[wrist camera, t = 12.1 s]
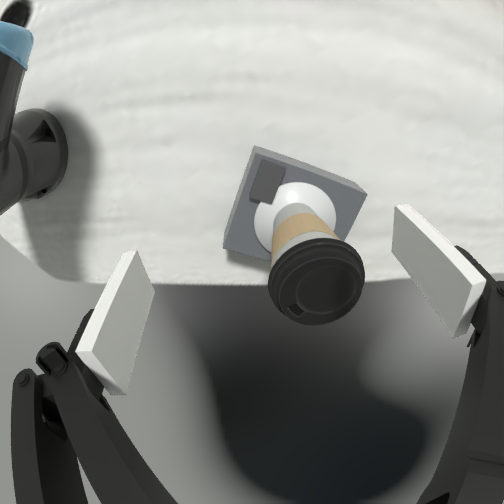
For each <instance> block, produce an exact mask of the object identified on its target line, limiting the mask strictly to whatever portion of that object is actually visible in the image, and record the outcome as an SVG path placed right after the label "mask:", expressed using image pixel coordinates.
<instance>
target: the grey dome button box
mask: <svg viewBox="0 0 504 504" xmlns="http://www.w3.org/2000/svg"><path fill="white" fill-rule="evenodd" d="M366 196H367V193H366V192H365V191H364V190H363V189H361V188H360V187H359V186H358V185H357V184H356V183H355V182H352V181H350V180H348V179H345V178H343V177H340V176H338V175H335V174H333V173H330V172H328V171H325V170H322V169H320V168H317V167H315V166H312V165H309V164H307V163H304V162H301V161H298V160H296V159H293V158H290V157H287V156H284V155H281V154H278V153H276V152H273V151H270V150H267V149H264V148H260V147H257V146H254V147H253V150H252V153H251V156H250V159H249V161H248V164H247V167H246V170H245V173H244V176H243V179H242V182H241V184H240V187H239V190H238V193H237V196H236V199H235V202H234V205H233V208H232V211H231V214H230V217H229V220H228V223H227V226H226V229H225V232H224V242H223V249H227V250H230V251H234V252H238V253H241V254H245V255H249V256H252V257H256V258H260V259H264V260H267V261H271V250H272V237H273V223H274V219H275V216H276V215H277V213H278V212H279V211H280V210H281V209H282V208H283V207H285V206H286V205H289V204H291V203H303V204H306V205H307V206H309V207H310V208H311V209H312V210H313V211H314V212H315V213H316V214H317V215H318V216H319V218H321V219H322V220H323V221H324V222H325V223H326V224H327V225H328V226H329V227H330V229H331V230H332V231H333V232H334V233H335V235H336V236H337V237H338V238H339V239H340V241H343V242H344V240H345V239H346V237H347V235H348V233H349V231H350V229H351V227H352V225H353V223H354V221H355V219H356V217H357V215H358V213H359V211H360V209H361V207H362V205H363V203H364V201H365V198H366Z"/></svg>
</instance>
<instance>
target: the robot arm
mask: <svg viewBox="0 0 504 504" xmlns="http://www.w3.org/2000/svg"><path fill="white" fill-rule="evenodd" d="M33 42H34V38H33V35H32V33H31V32H30V31H29V30H27V29H25V28H23V27H20V26H17V25H14V24H10V23H6V22H2V21H0V215H2V214H3V213H4V212H5V211H7V210H8V209H9V208H10V207H12V206H13V205H14V204H16V203H17V202H22V201H28V200H34V199H39V198H41V197H43V196H45V195H46V194H48V193H49V192H51V191H52V190H53V189H54V188H56V186H57V185H58V184H59V183H60V181H61V179H62V178H63V175H64V173H65V170H66V165H67V158H68V150H67V142H66V138H65V134H64V132H63V129H62V127H61V125H60V124H59V122H58V121H57V120H56V118H55V117H54V116H53V115H51V114H50V113H49V112H47V111H45V110H42V109H29V110H25V111H21V112H19V113H17V114H15V110H16V105H17V101H18V97H19V93H20V89H21V85H22V81H23V78H24V74H25V71H27V69H28V65H27V63H28V60H29V56H30V53H31V50H32V46H33ZM14 114H15V115H14ZM392 253H393V254H394V255H395V257H396V258H397V259H398V261H399V262H400V263H401V264H402V266H403V267H404V268H405V270H406V271H407V272H408V274H409V275H410V277H411V278H412V279H413V280H414V282H415V283H416V285H417V286H418V288H419V289H420V290H421V292H422V293H423V295H424V296H425V297H426V299H427V300H428V302H429V303H430V305H431V306H432V308H433V309H434V310H435V312H436V313H437V315H438V316H439V318H440V319H441V321H442V322H443V324H444V326H445V327H446V329H447V330H448V332H449V333H450V335H451V336H452V338H455V337H458V336H460V335H463V334H465V333H466V332H467V330H468V328H469V326H470V323H472V325H473V326H474V327H475V330H474V332H473V334H472V336H471V338H470V341H469V343H468V345H467V347H469V346H470V344H471V348H470V354H469V359H468V365H467V370H466V375H465V379H464V384H463V388H462V392H461V396H460V400H459V404H458V407H457V411H456V415H455V418H454V421H453V425H452V428H451V431H450V434H449V437H448V440H447V443H446V445H445V448H444V451H443V454H442V456H441V459H440V461H439V464H438V466H437V469H436V471H435V474H434V476H433V478H432V480H431V482H430V483H429V485H428V486H427V488H426V489H425V490H424V492H423V493H422V495H421V496H420V498H419V500H418V502H417V504H502V503H503V500H504V281H495V280H494V279H493V278H492V277H491V275H490V274H489V273H488V272H487V271H486V270H485V269H484V268H483V267H482V266H481V265H480V264H478V262H477V261H476V260H475V259H473V257H472V256H471V255H470V254H469V253H468V252H467V251H466V250H464V249H463V248H461V247H459V246H453V245H452V244H451V243H450V242H449V241H448V240H447V239H446V238H445V237H444V236H443V235H442V234H441V233H439V232H438V231H437V230H436V229H435V228H434V227H433V226H432V225H431V224H430V223H429V222H428V221H426V220H425V219H424V218H423V217H422V216H421V215H420V214H419V213H417V212H416V211H415V210H414V209H413V208H412V207H410V206H409V205H408V204H402V205H395V211H394V228H393V241H392ZM154 293H155V292H154V289H153V287H152V285H151V282H150V280H149V278H148V275H147V273H146V271H145V268H144V266H143V263H142V261H141V259H140V256H139V254H138V251H137V250H133V251H128V252H124V253H123V255H122V257H121V259H120V261H119V262H118V264H117V266H116V268H115V270H114V272H113V274H112V276H111V277H110V279H109V281H108V283H107V285H106V287H105V289H104V291H103V293H102V295H101V297H100V299H99V301H98V303H97V305H96V307H95V309H91V310H90V311H89V312H88V313H87V314H86V315H85V316H84V318H83V320H82V322H81V324H80V327H79V328H78V330H77V332H76V333H77V334H75V337H74V339H73V341H72V343H71V345H70V347H69V350H68V352H66V351H65V350H64V349H63V347H62V346H61V345H60V343H58V342H51V343H49V344H47V345H45V346H44V347H43V348H42V349H41V350H40V351H39V352H38V354H37V357H36V363H37V365H38V366H39V367H40V368H41V369H42V371H43V372H44V373H45V374H41V375H38V376H37V375H36V374H35V373H34V371H33V370H32V369H29V368H28V369H24V370H22V371H21V372H19V374H17V376H16V378H15V379H14V383H13V391H12V408H11V454H12V470H13V480H14V489H15V497H16V503H17V504H88V501H87V498H86V494H85V490H84V487H83V482H82V478H81V474H80V470H79V465H78V460H77V457H78V459H79V462H80V464H81V466H82V468H83V470H84V472H85V474H86V476H87V478H88V480H89V482H90V484H91V486H92V487H93V489H94V491H95V493H96V495H97V497H98V498H99V500H100V502H101V503H102V504H178V503H177V502H176V501H175V500H174V498H173V497H172V496H171V495H170V494H169V493H168V491H167V490H166V489H165V487H164V486H163V485H162V484H161V482H160V481H159V480H158V478H157V477H156V476H155V475H154V473H153V472H152V470H151V469H150V468H149V466H148V465H147V464H146V462H145V461H144V459H143V458H142V456H141V455H140V454H139V452H138V451H137V449H136V448H135V446H134V445H133V443H132V442H131V440H130V439H129V437H128V435H127V434H126V432H125V431H124V429H123V427H122V426H121V424H120V423H119V421H118V419H117V418H116V416H115V414H114V413H113V411H112V409H111V407H110V405H109V404H108V402H107V400H106V398H105V397H104V396H103V395H102V392H103V388H105V389H106V390H107V391H108V392H109V393H110V394H111V395H127V391H128V387H129V383H130V378H131V375H132V371H133V367H134V363H135V359H136V355H137V352H138V348H139V344H140V340H141V337H142V333H143V330H144V327H145V323H146V320H147V316H148V313H149V310H150V306H151V303H152V299H153V297H154ZM42 417H43V418H42Z"/></svg>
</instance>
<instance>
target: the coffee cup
mask: <svg viewBox="0 0 504 504" xmlns="http://www.w3.org/2000/svg"><path fill="white" fill-rule="evenodd" d="M364 281H365V271H364V266H363V262H362V259H361V257H360V255H359V254H358V253H357V251H356V250H355V249H354V248H353V247H352V246H350V245H349V244H347V243H345V242H343V241H340V239H339V238H338V237H337V236H336V235H335V233H334V232H333V231H332V230H331V229H330V227H329V226H328V225H327V224H326V223H325V222H324V221H323V220H322V219H321V218H319V216H318V215H317V214H316V213H315V212H314V211H313V210H312V209H311V208H310V207H309V206H307V205H306V204H303V203H291V204H289V205H286V206H285V207H283V208H282V209H281V210H280V211H279V212H278V213H277V215H276V216H275V219H274V223H273V237H272V250H271V272H270V275H269V280H268V289H269V293H270V296H271V298H272V301H273V303H274V304H275V306H276V307H277V309H279V311H280V312H282V313H283V314H284V315H286V316H287V317H289V318H290V319H291V320H293V321H295V322H298V323H300V324H304V325H322V324H326V323H330V322H333V321H335V320H337V319H339V318H341V317H342V316H344V315H346V314H347V313H348V312H349V311H350V310H351V309H352V308H353V307H354V306H355V305H356V303H357V302H358V300H359V298H360V295H361V292H362V288H363V285H364Z"/></svg>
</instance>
